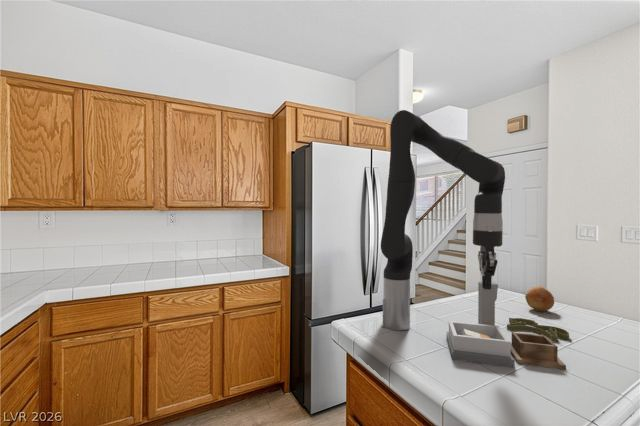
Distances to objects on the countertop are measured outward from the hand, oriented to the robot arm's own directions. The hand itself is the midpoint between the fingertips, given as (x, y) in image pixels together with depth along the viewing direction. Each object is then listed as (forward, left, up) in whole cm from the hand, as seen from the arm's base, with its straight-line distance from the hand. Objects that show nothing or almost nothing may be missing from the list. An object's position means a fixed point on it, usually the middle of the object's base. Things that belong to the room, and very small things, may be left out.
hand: (486, 288), depth 87 cm
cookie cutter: (+20, +23, -19) cm, 36 cm away
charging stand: (+12, +1, -19) cm, 22 cm away
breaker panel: (-2, 0, -19) cm, 19 cm away
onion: (+30, +49, -19) cm, 60 cm away
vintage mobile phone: (+4, +17, -19) cm, 26 cm away
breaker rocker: (-2, 0, -15) cm, 15 cm away
